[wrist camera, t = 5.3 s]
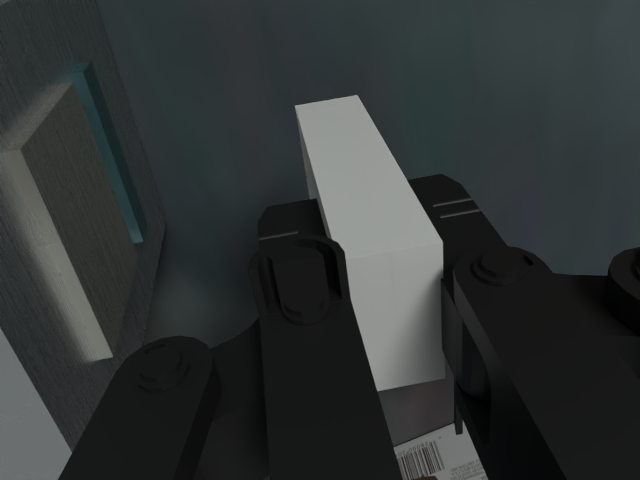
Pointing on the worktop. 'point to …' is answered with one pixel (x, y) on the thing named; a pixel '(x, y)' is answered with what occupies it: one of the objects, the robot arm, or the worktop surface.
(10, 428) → the box
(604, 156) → the worktop surface
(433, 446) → the coffee box
